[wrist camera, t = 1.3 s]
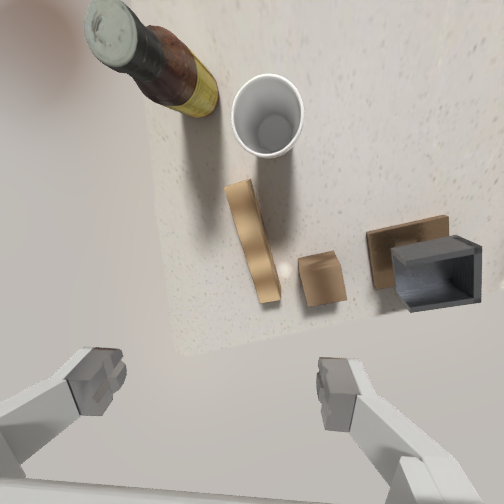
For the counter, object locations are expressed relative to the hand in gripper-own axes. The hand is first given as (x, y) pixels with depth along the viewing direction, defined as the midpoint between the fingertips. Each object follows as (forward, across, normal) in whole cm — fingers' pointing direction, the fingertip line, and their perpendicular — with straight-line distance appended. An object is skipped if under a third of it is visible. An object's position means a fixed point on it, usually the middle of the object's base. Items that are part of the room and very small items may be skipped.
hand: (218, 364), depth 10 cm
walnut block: (+31, -11, +10) cm, 35 cm away
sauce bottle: (+33, +8, -17) cm, 38 cm away
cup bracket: (+30, -24, +6) cm, 39 cm away
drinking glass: (+32, -3, -12) cm, 34 cm away
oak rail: (+32, 0, +5) cm, 33 cm away
